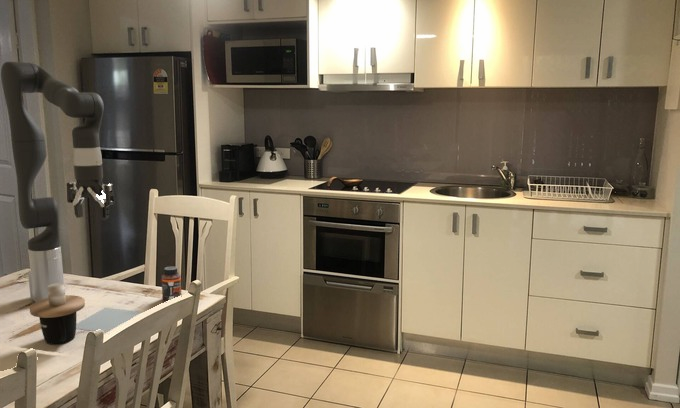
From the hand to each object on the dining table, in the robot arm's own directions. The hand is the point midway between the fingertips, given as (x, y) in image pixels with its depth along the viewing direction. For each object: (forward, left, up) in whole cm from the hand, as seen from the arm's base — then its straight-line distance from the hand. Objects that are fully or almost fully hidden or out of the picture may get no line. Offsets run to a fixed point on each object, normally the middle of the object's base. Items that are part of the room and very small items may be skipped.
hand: (92, 218), depth 165 cm
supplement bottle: (+15, +16, -30) cm, 37 cm away
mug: (+3, -20, -30) cm, 36 cm away
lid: (+3, -20, -20) cm, 28 cm away
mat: (+7, -4, -30) cm, 31 cm away
